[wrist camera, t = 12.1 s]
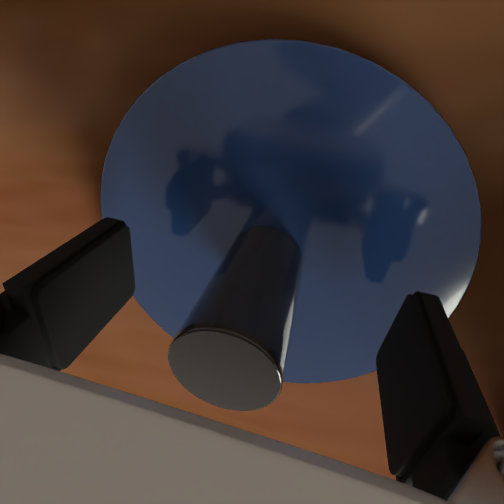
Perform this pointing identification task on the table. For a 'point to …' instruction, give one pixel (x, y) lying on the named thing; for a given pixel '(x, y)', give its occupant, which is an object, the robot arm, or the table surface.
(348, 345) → the lid
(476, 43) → the table surface
